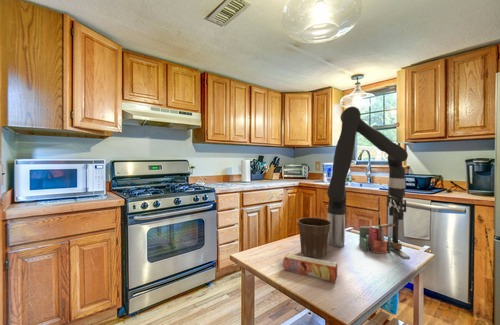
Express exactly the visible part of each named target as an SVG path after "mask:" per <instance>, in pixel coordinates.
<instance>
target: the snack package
mask: <svg viewBox="0 0 500 325" xmlns="http://www.w3.org/2000/svg"><path fill="white" fill-rule="evenodd" d="M283 270H285V271H287V272H292V273H296V274H299V275H303V276H307V277H311V278H317V279H321V280H324V281H328V282H332V283H335V282H336V281H337V277H338V264H337V262H335V261H327V260H322V259H319V258H311V257H307V256H301V255H295V254H290V253H287V254H286V255H285V256H284V258H283Z"/></svg>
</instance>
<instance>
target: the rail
mask: <svg viewBox="0 0 500 325" xmlns="http://www.w3.org/2000/svg"><path fill="white" fill-rule="evenodd" d="M391 251H392V252H394V253H396V254H397V255H398V256H399V257H401V258H402V259H410V258H411V257H410V255H409V254H407V253H405V252H404V251H402V250H400V249H393V248H391Z"/></svg>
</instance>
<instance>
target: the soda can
mask: <svg viewBox="0 0 500 325" xmlns="http://www.w3.org/2000/svg"><path fill="white" fill-rule="evenodd" d="M378 226H379V225H374V224H373V225H369V227H370V228H369V245H368V249H370V250H371V251H373V240H378ZM384 236H385V232H384V228H383V229H382V240H384V238H385V237H384Z"/></svg>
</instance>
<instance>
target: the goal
mask: <svg viewBox="0 0 500 325" xmlns="http://www.w3.org/2000/svg"><path fill="white" fill-rule="evenodd" d="M369 228H370V226H359V236H358V238H359V239H358V240H359V241H358V242H359V243H358V244H359V246H360V247H362V249H363V250H364V251H366V252H369V246H368V245H369ZM382 229H383V230H384V227H383V228H382ZM384 240H386V241H387V253H389V254H390V253H391V251H392V250H391V240H392V236H388V235H387V238H385V237H384Z"/></svg>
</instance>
